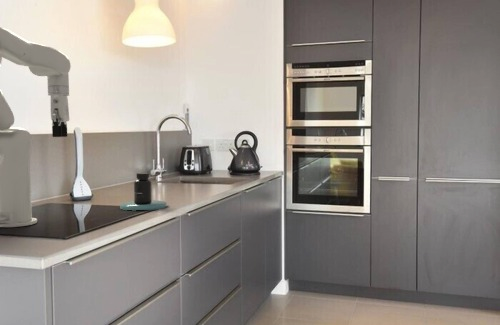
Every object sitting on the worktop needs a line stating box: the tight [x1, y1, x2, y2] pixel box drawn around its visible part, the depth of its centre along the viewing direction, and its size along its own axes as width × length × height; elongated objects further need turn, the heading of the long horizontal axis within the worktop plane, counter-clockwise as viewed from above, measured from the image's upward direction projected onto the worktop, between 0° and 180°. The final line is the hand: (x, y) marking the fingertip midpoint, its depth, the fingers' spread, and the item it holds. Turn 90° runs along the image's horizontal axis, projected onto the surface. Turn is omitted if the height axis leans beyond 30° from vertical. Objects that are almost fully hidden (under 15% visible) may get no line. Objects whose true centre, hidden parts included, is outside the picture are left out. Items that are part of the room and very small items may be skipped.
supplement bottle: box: [133, 172, 153, 204], centre depth 198 cm, size 7×7×12 cm
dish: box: [119, 199, 168, 212], centre depth 199 cm, size 18×18×2 cm
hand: (60, 136), depth 192 cm, fingers open, 9 cm apart
